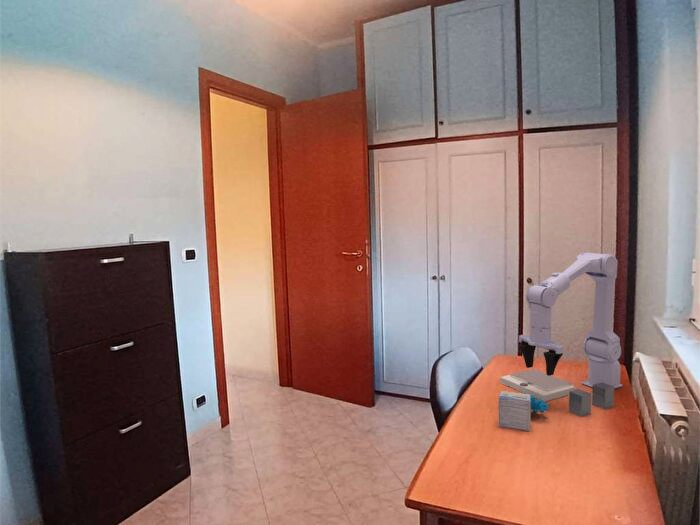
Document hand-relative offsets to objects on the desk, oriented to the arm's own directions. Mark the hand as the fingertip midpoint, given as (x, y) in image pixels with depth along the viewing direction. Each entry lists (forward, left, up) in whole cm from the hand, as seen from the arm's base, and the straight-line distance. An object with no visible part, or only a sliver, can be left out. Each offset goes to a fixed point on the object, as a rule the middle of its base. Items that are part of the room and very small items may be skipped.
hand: (539, 370), depth 136 cm
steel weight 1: (-5, +10, -10) cm, 15 cm away
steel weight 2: (-15, +10, -10) cm, 21 cm away
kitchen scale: (-9, -9, -10) cm, 16 cm away
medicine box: (+17, +7, -10) cm, 21 cm away
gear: (+9, +4, -10) cm, 14 cm away
